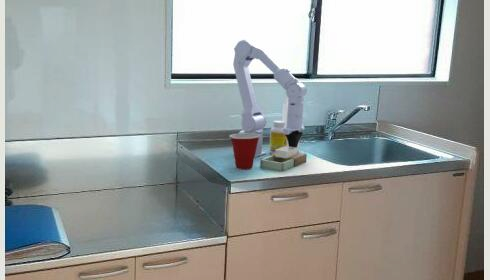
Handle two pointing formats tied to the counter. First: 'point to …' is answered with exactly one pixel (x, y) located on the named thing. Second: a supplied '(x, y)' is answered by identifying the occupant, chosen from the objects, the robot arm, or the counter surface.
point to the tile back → (294, 149)
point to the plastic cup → (244, 149)
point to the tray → (276, 164)
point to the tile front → (283, 153)
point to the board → (298, 158)
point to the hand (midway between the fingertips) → (292, 150)
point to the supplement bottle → (277, 136)
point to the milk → (284, 118)
